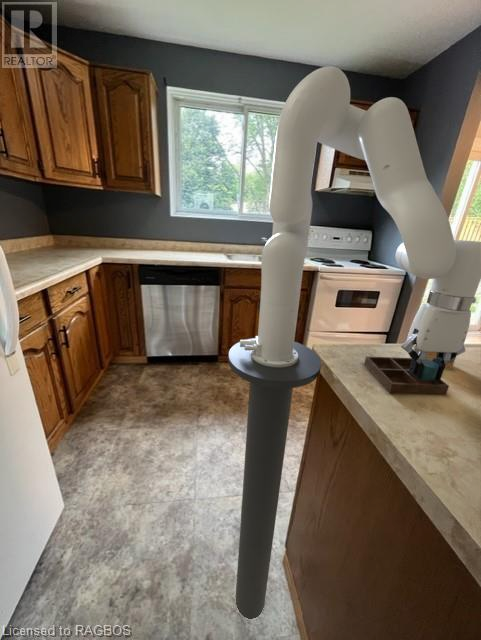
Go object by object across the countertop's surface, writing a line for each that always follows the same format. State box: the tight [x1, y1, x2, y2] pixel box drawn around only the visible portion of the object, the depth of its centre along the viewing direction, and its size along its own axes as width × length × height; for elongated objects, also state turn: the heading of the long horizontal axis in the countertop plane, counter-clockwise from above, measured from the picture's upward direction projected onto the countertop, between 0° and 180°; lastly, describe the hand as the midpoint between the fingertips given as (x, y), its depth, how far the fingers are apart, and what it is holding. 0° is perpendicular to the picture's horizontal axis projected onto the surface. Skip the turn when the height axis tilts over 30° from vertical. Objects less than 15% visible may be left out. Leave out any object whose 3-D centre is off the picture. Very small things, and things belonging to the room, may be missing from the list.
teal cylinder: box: [419, 359, 439, 382], centre depth 63 cm, size 4×4×4 cm
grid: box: [363, 356, 450, 396], centre depth 67 cm, size 13×13×2 cm
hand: (424, 375), depth 63 cm, fingers closed on teal cylinder, 4 cm apart
